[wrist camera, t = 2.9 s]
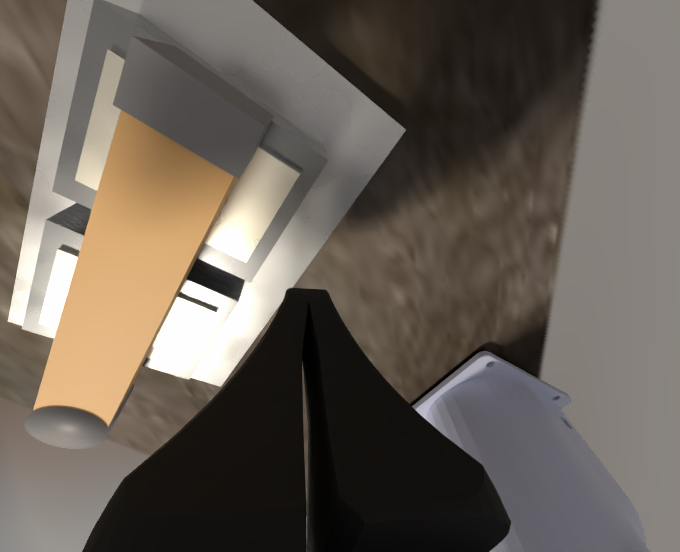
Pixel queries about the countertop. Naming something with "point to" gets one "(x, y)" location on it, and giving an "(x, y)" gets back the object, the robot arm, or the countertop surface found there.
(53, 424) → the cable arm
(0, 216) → the countertop surface
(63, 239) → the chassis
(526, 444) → the robot arm
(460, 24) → the countertop surface
